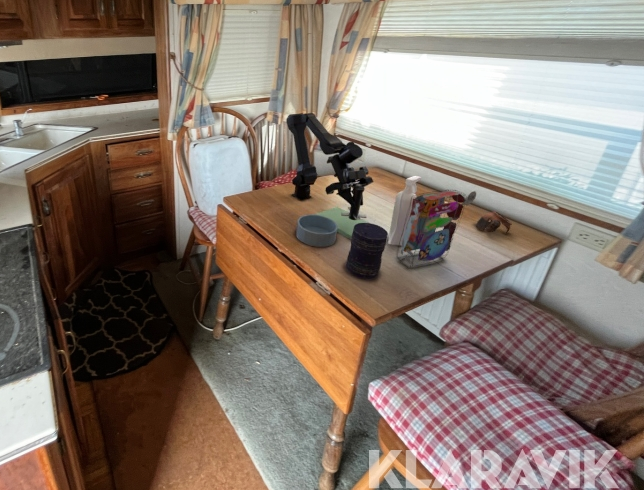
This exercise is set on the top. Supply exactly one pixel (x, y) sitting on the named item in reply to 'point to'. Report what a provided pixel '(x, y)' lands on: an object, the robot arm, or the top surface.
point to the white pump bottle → (402, 211)
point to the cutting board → (341, 220)
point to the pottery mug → (492, 222)
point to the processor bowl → (316, 230)
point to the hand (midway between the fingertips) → (358, 206)
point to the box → (432, 224)
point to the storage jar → (366, 250)
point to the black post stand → (357, 199)
